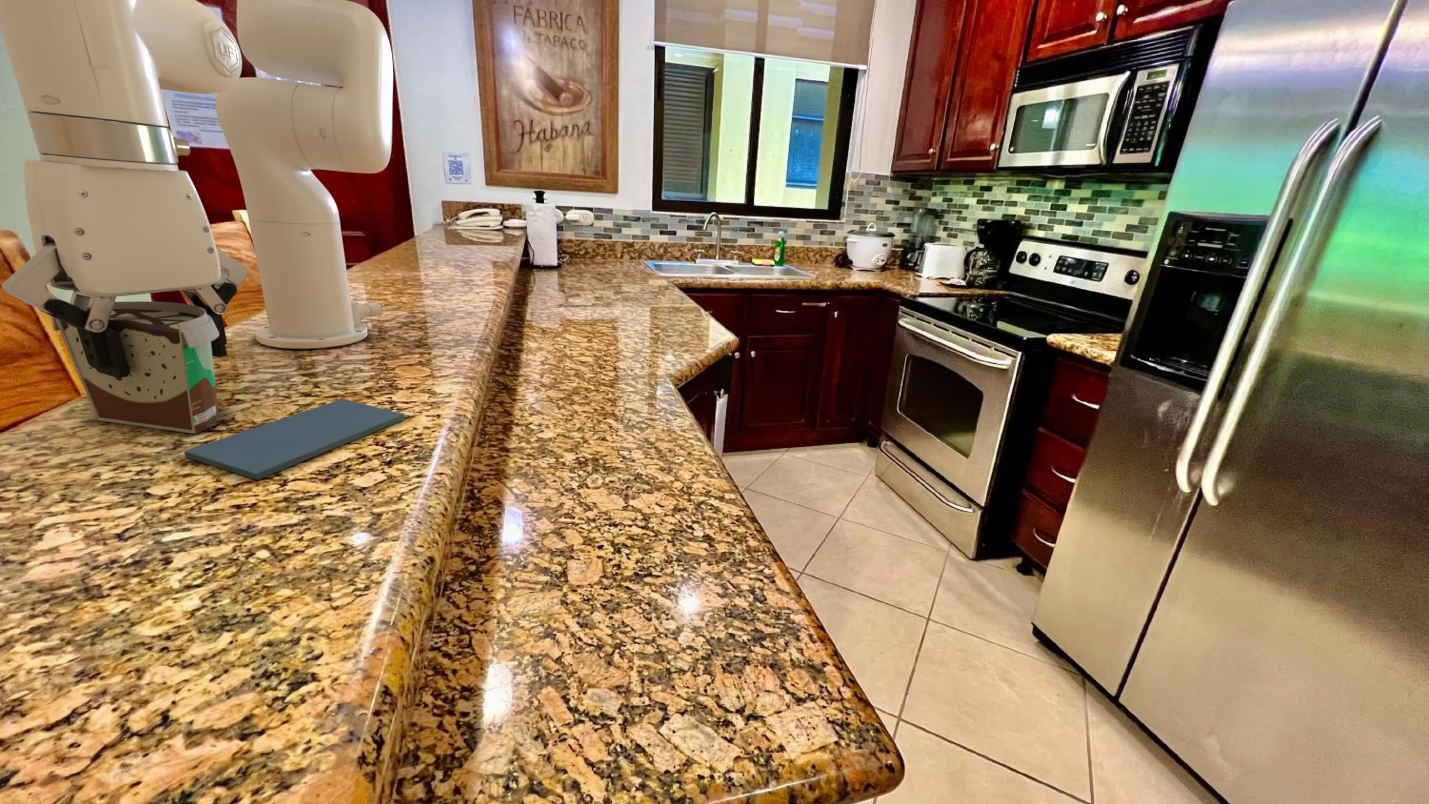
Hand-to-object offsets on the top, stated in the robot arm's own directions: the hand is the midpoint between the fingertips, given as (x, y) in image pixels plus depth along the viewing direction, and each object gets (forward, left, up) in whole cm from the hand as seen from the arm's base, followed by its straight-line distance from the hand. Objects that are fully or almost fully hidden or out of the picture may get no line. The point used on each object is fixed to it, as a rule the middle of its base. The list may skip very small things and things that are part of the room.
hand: (165, 362), depth 49 cm
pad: (-2, +13, -5) cm, 14 cm away
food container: (0, 0, -5) cm, 5 cm away
